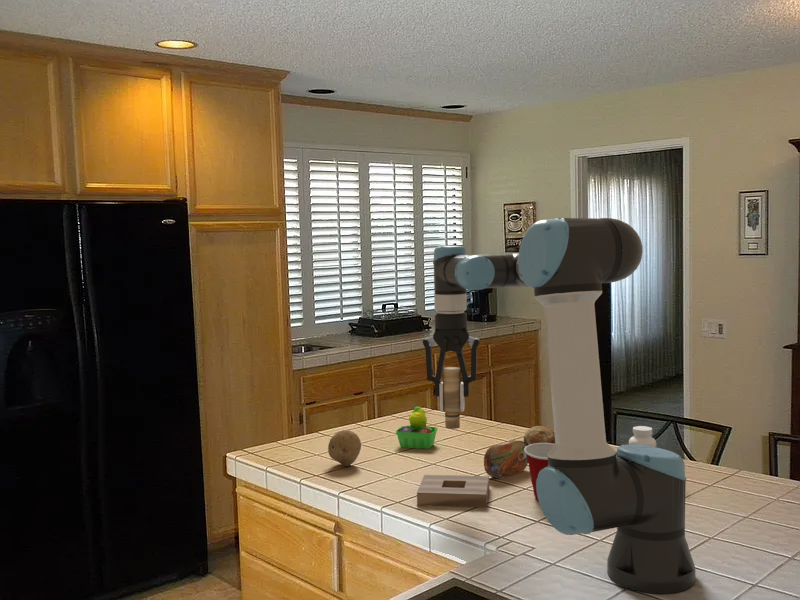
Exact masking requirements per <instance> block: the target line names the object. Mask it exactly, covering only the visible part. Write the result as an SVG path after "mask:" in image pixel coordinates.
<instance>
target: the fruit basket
mask: <svg viewBox="0 0 800 600" xmlns="http://www.w3.org/2000/svg"><path fill="white" fill-rule="evenodd" d="M408 418H409V419H408V421H409V425H404V426H401V427H399V428H398V429H396V430H395V434H396V436H397V438H398V443H399V446H400V448H402V447H404V448H403V449H407V448H408V449H425V450H429V449H431V447H433V445H434V444H435V440H436V436H437V432H438V427H436V426H428V425H427V423H428V421H427V420H428V419H427V416H426V410H424V409H423V407H422V406H415V407H414V408H413V411H412V412H411V414H410V416H409V417H408Z"/></svg>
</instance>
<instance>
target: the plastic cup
mask: <svg viewBox="0 0 800 600" xmlns="http://www.w3.org/2000/svg"><path fill="white" fill-rule="evenodd" d="M554 446H555V444H552V443H535V444H530V445H528V446H526V447H525V448H524V452H525V453H526V456H527V460H528V464H527V465H528V469H529V474H530V479H531V485H532V490H533V495H534V498H535V500H536V501H538V502H539V500H538V496H537V490H536V480H537V478H538V474H539V472H540V471H541V470H542V469H544V468H545V467H548V453H549V451H550V450H551V449H552V448H553V447H554Z"/></svg>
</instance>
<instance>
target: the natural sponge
mask: <svg viewBox="0 0 800 600" xmlns="http://www.w3.org/2000/svg"><path fill="white" fill-rule="evenodd" d="M328 442H329V443H328V446H327V451H328V455H329V457H330V458H331V459H332V460H334V461H335V462H338V463H339V464H340V465H341V466H343V467H348V466H351V465H352V464H353V463H354V462H355V461H356V460H357V458H358V456H359V455H360V452H361V449H362V441H361V438H360V437H359V435H358V434H357V433H355V431H352V430H350V429H349V430H348V429H343V430H340V431H338V432H336V433H335V434H334V435H332V436H331V438H330V439H329V441H328Z"/></svg>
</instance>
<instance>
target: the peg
mask: <svg viewBox="0 0 800 600" xmlns="http://www.w3.org/2000/svg"><path fill="white" fill-rule="evenodd" d="M461 377H462V374H461V370H460V367H456V366H449V367H443V370H442V382H443V411H442V412H444V418H445V422H444V423H445V424H444V425H445V428H446V429H450V430H455V429H457V430H458V429H460V428H461V426H460V425H461V424H460V423H461V421H460V417H461V414H460V412H461V409H460V383H461V382H462V378H461Z"/></svg>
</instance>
